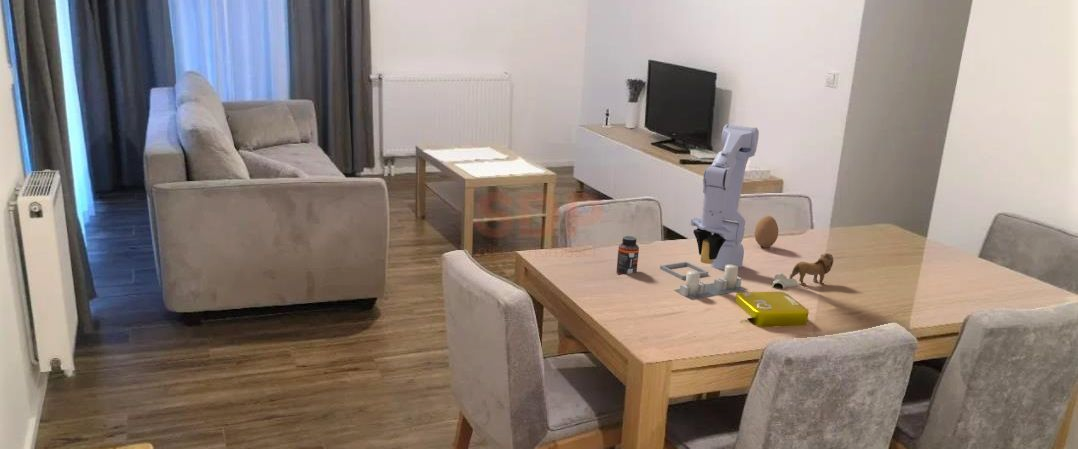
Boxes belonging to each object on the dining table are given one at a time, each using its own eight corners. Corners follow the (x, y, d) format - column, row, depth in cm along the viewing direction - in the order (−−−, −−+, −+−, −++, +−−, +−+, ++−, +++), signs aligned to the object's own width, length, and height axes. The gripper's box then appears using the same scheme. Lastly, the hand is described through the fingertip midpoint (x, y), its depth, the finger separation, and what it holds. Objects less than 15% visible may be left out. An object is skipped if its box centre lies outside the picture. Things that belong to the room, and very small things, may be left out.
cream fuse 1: (691, 290, 238) (694, 269, 236) (700, 294, 235) (702, 273, 233) (681, 292, 236) (684, 271, 234) (690, 296, 233) (692, 275, 232)
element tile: (809, 327, 222) (812, 310, 221) (756, 328, 219) (758, 311, 217) (782, 305, 236) (784, 289, 235) (731, 306, 233) (733, 290, 232)
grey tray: (685, 269, 260) (686, 261, 259) (707, 279, 252) (708, 271, 251) (659, 273, 255) (660, 265, 254) (681, 284, 247) (682, 276, 246)
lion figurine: (822, 278, 259) (827, 250, 257) (834, 284, 255) (839, 255, 252) (782, 282, 254) (786, 253, 251) (794, 288, 249) (798, 258, 247)
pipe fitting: (796, 289, 250) (773, 283, 252) (799, 277, 249) (775, 271, 251) (794, 298, 243) (770, 292, 245) (797, 285, 242) (773, 279, 244)
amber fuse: (707, 258, 243) (710, 236, 241) (716, 262, 240) (718, 240, 238) (697, 260, 241) (700, 238, 239) (706, 264, 238) (709, 241, 236)
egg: (780, 247, 288) (784, 216, 285) (769, 252, 282) (773, 220, 279) (759, 242, 292) (763, 211, 289) (748, 246, 287) (752, 215, 284)
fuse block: (727, 285, 248) (728, 272, 247) (746, 294, 241) (748, 281, 240) (672, 295, 238) (673, 281, 237) (691, 305, 231) (692, 291, 230)
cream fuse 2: (729, 283, 245) (732, 263, 243) (738, 287, 242) (740, 267, 240) (720, 285, 243) (722, 265, 242) (728, 289, 240) (731, 269, 239)
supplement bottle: (635, 279, 249) (638, 241, 246) (615, 276, 250) (618, 239, 247) (637, 272, 255) (640, 236, 251) (617, 270, 256) (620, 233, 253)
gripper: (684, 204, 240) (679, 250, 244) (720, 218, 228) (714, 266, 232) (703, 202, 244) (698, 247, 247) (739, 215, 232) (733, 263, 236)
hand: (707, 256), depth 240 cm, fingers closed on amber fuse, 4 cm apart
